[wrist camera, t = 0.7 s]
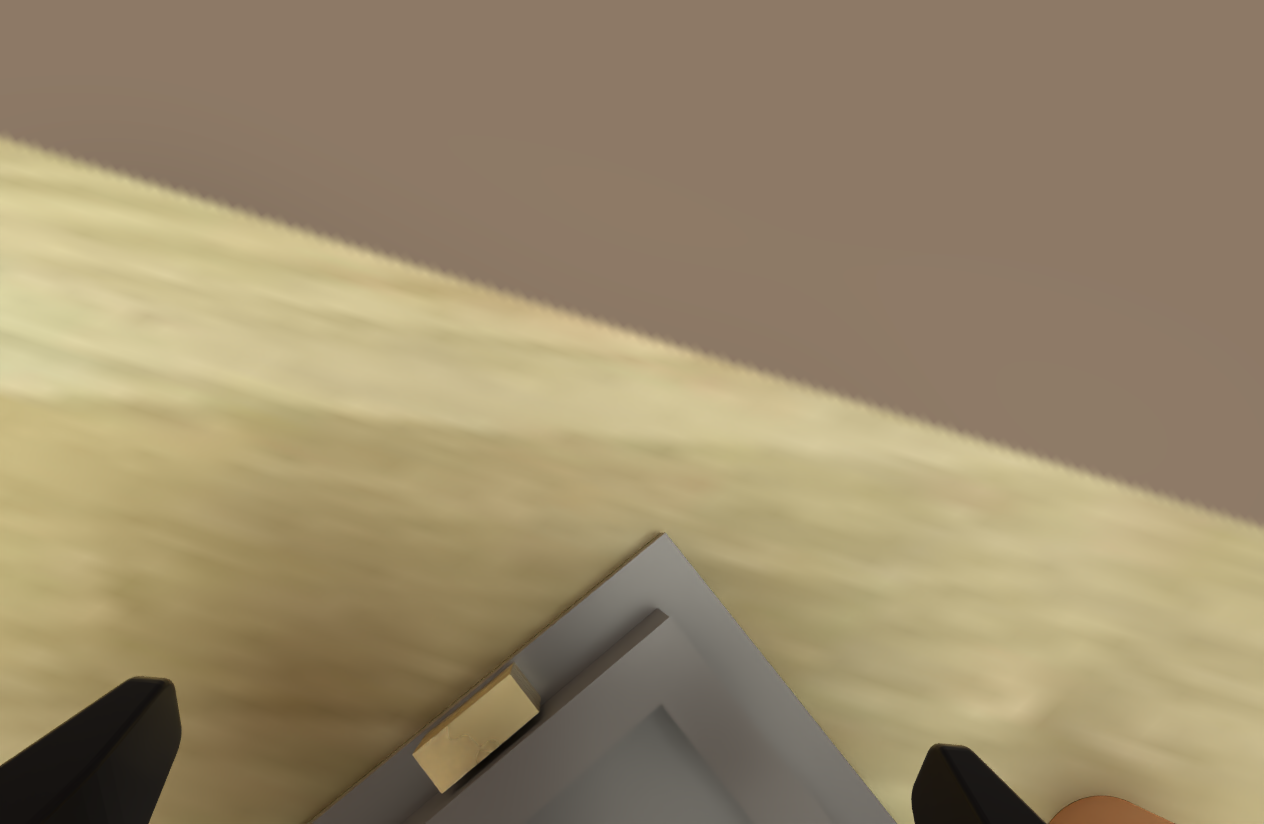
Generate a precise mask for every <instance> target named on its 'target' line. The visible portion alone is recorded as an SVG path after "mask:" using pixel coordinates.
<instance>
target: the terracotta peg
mask: <svg viewBox="0 0 1264 824" xmlns="http://www.w3.org/2000/svg"><path fill="white" fill-rule="evenodd" d="M1049 824H1175V823H1172V822H1170V821H1168V820H1166V819H1164V818H1162V817H1160V816H1158V815H1155V814H1153V813H1151V812H1149V811H1147V810H1145V809H1143V808H1140V807H1138V806H1136V805H1134V804H1132V803H1130V802H1128V801H1126V800H1123V799H1119V798H1116V797H1110V796H1093V797H1087V798H1084V799H1080V800H1078V801H1076V802H1073V803H1071V804H1070V805H1068V806H1067V807H1065V808H1064V809H1063V810H1061V811H1060V812H1059V813H1058V814H1057V815H1056V816H1055V817H1054V818H1053V819H1052V821H1051V822H1050V823H1049Z"/></svg>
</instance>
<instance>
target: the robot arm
mask: <svg viewBox="0 0 1264 824" xmlns="http://www.w3.org/2000/svg"><path fill="white" fill-rule="evenodd" d="M180 740H181V722H180V716H179V709H178V703H177V697H176V691H175V687H174V684H173V683H172V681H171V680H169V679H166V678H156V677H144V676H136V677H132V678H130V679H128V680H126V681H124V682H123V683H122V684H120V685H119V686H117V687H116V688H114V689H113V690H111V691H110V692H108V693H107V694H105V695H104V696H102V697H101V698H99V699H98V700H96V701H95V702H94V703H92V704H91V705H89V706H88V707H86V708H85V709H83V710H82V711H80V712H79V713H77V714H76V715H74V716H73V717H71V718H70V719H68V720H67V721H66V722H64V723H63V724H61V725H60V726H58V727H57V728H55V729H54V730H52V731H51V732H49V733H48V734H46V735H45V736H43V737H42V738H40V739H39V740H38V741H36V742H35V743H33V744H32V745H30V746H29V747H27V748H26V749H24V750H23V751H21V752H20V753H18V754H17V755H15V756H14V757H12V758H11V759H9V760H8V761H7V762H5V763H4V764H2V765H1V766H0V824H148V823H149V821H150V818H151V816H152V813H153V811H154V808H155V806H156V803H157V801H158V798H159V796H160V793H161V791H162V789H163V786H164V784H165V781H166V779H167V776H168V774H169V771H170V769H171V766H172V764H173V761H174V759H175V756H176V754H177V751H178V748H179V745H180ZM911 800H912V810H913V815H914V821H915V824H1046V823H1045V822H1044V821H1043V820H1042V819H1041V818H1040V817H1039V816H1038V815H1037V814H1036V813H1035V812H1034V811H1033V810H1032V809H1031V808H1030V807H1029V806H1028V805H1027V804H1026V803H1025V802H1024V801H1023V800H1022V799H1021V798H1020V797H1019V796H1018V795H1017V794H1016V793H1015V792H1014V791H1013V790H1012V789H1011V788H1010V787H1009V786H1008V785H1007V784H1006V783H1005V782H1004V781H1003V780H1002V779H1000V778H999V777H998V776H997V775H996V774H995V773H994V772H993V771H992V770H991V769H990V768H989V767H988V766H987V765H986V764H985V763H984V762H983V761H982V760H981V759H980V758H979V757H978V756H977V755H976V754H975V753H974V752H973V751H972V750H971V749H969V748H968V747H965V746H962V745H952V744H940V743H938V744H934V745H933V746H932V747H930V749H929V751H928V753H927V755H926V757H925V760H924V762H923V765H922V767H921V769H920V772H919V774H918V776H917V779H916V781H915V783H914V786H913V789H912V798H911Z"/></svg>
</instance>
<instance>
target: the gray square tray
mask: <svg viewBox="0 0 1264 824" xmlns="http://www.w3.org/2000/svg"><path fill="white" fill-rule="evenodd" d="M307 824H897V823H896V822H895V821H894V819H893V818H892V817H891V816H890V814H889V813H888V812H887V811H886V809H885V808H884V807H883V806H882V804H881V803H880V802H879V801H878V799H877V798H876V797H875V796H874V794H873V793H872V792H871V791H870V789H869V788H868V787H867V786H866V784H865V783H864V782H863V780H862V779H861V778H860V777H859V775H858V774H857V773H856V772H855V770H854V769H853V768H852V767H851V765H850V764H849V763H848V762H847V760H846V759H845V758H844V757H843V755H842V754H841V753H840V752H839V750H838V749H837V748H836V747H835V745H834V744H833V743H832V741H831V740H830V739H829V738H828V736H827V735H826V734H825V733H824V731H823V730H822V729H821V728H820V726H819V725H818V724H817V723H816V721H815V720H814V719H813V718H812V716H811V715H810V714H809V713H808V711H807V710H806V709H805V707H804V706H803V705H802V704H801V702H800V701H799V700H798V699H797V697H796V696H795V695H794V694H793V692H792V691H791V690H790V689H789V687H788V686H787V685H786V684H785V682H784V681H783V680H782V679H781V677H780V676H779V675H778V674H777V672H776V671H775V670H774V668H773V667H772V666H771V665H770V663H769V662H768V661H767V660H766V658H765V657H764V656H763V655H762V653H761V652H760V651H759V650H758V648H757V647H756V646H755V645H754V643H753V642H752V641H751V640H750V638H749V637H748V636H747V635H746V633H745V632H744V631H743V629H742V628H741V627H740V626H739V624H738V623H737V622H736V621H735V619H734V618H733V617H732V616H731V614H730V613H729V612H728V611H727V609H726V608H725V607H724V606H723V604H722V603H721V602H720V601H719V599H718V598H717V597H716V596H715V594H714V593H713V592H712V590H711V589H710V588H709V587H708V585H707V584H706V583H705V582H704V580H703V579H702V578H701V577H700V575H699V574H698V573H697V572H696V570H695V569H694V568H693V567H692V565H691V564H690V563H689V562H688V560H687V559H686V558H685V557H684V555H683V554H682V553H681V551H680V550H679V549H678V548H677V546H676V545H675V544H674V543H673V541H672V540H671V539H670V538H669V536H668V535H667V534H666V533H660V534H659V535H658V536H657V537H655V538H654V539H653V540H652V541H650V542H649V543H648V544H647V545H646V546H644V547H643V548H642V549H641V550H639V551H638V552H637V553H636V554H635V555H633V556H632V557H631V558H630V559H629V560H627V561H626V562H625V563H624V564H622V565H621V566H620V567H619V568H618V569H616V570H615V571H614V572H613V573H611V574H610V575H609V576H608V577H607V578H605V579H604V580H603V581H602V582H600V583H599V584H598V585H597V586H596V587H594V588H593V589H592V590H591V591H590V592H588V593H587V594H586V595H585V596H583V597H582V598H581V599H580V600H579V601H577V602H576V603H575V604H574V605H572V606H571V607H570V608H569V609H568V610H566V611H565V612H564V613H563V614H562V615H560V616H559V617H558V618H557V619H555V620H554V621H553V622H552V623H551V624H549V625H548V626H547V627H546V628H544V629H543V630H542V631H541V632H540V633H538V634H537V635H536V636H535V637H534V638H532V639H531V640H530V641H529V642H527V643H526V644H525V645H524V646H523V647H521V648H520V649H519V650H518V651H516V652H515V653H514V654H513V655H512V656H510V657H509V658H508V659H507V660H505V661H504V662H503V663H502V664H501V665H499V666H498V667H497V668H496V669H495V670H493V671H492V672H491V673H490V674H488V675H487V676H486V677H485V678H484V679H482V680H481V681H480V682H479V683H477V684H476V685H475V686H474V687H473V688H471V689H470V690H469V691H468V692H467V693H465V694H464V695H463V696H462V697H460V698H459V699H458V700H457V701H456V702H454V703H453V704H452V705H451V706H449V707H448V708H447V709H446V710H445V711H443V712H442V713H441V714H440V715H438V716H437V717H436V718H435V719H434V720H432V721H431V722H430V723H429V724H428V725H426V726H425V727H424V728H423V729H421V730H420V731H419V732H418V733H417V734H415V735H414V736H413V737H412V738H410V739H409V740H408V741H407V742H406V743H404V744H403V745H402V746H401V747H400V748H398V749H397V750H396V751H395V752H393V753H392V754H391V755H390V756H389V757H387V758H386V759H385V760H384V761H382V762H381V763H380V764H379V765H378V766H376V767H375V768H374V769H373V770H372V771H370V772H369V773H368V774H367V775H365V776H364V777H363V778H362V779H361V780H359V781H358V782H357V783H356V784H354V785H353V786H352V787H351V788H350V789H348V790H347V791H346V792H345V793H343V794H342V795H341V796H340V797H339V798H337V799H336V800H335V801H334V802H333V803H331V804H330V805H329V806H328V807H326V808H325V809H324V810H323V811H322V812H320V813H319V814H318V815H317V816H315V817H314V818H313V819H312V820H311V821H309V822H308V823H307Z"/></svg>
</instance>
